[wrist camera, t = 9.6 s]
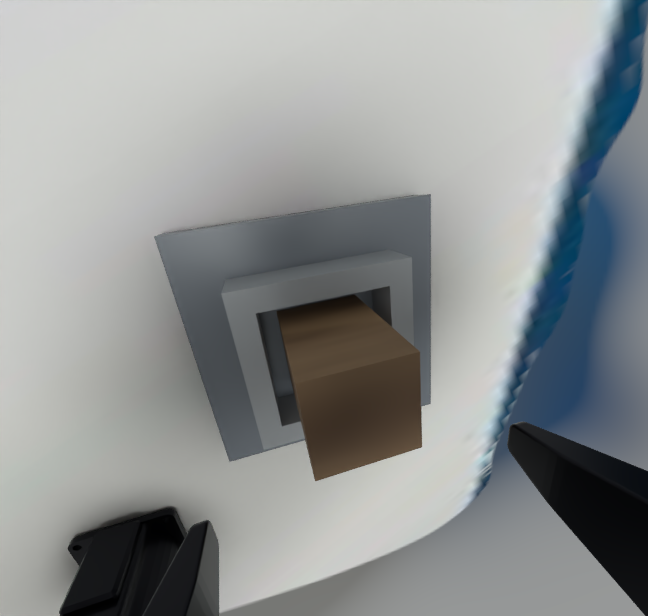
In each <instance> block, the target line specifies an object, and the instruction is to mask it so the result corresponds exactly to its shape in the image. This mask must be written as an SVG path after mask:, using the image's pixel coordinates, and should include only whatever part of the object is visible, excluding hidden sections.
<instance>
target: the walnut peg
mask: <svg viewBox="0 0 648 616" xmlns="http://www.w3.org/2000/svg"><path fill="white" fill-rule="evenodd" d="M276 312H277V317H278V321H279V326H280V331H281V335H282V340H283V345H284V350H285V354H286V359H287V364H288V369H289V373H290V378H291V383H292V387H293V391H294V395H295V399H296V403H297V408H298V412H299V416H300V420H301V424H302V428H303V432H304V437H305V441H306V445H307V449H308V453H309V457H310V462H311V466H312V470H313V474H314V478H315V481H318V480H321V479H324V478H327V477H330V476H333V475H336V474H340V473H343V472H346V471H349V470H352V469H355V468H358V467H361V466H365V465H368V464H371V463H374V462H377V461H380V460H383V459H387V458H390V457H393V456H396V455H399V454H402V453H405V452H408V451H412V450H415V449H418V448H421V447H422V427H421V376H420V351H419V350H418V349H416V348H415V347H414V346H413V345H412V344H411V343H410V342H408V341H407V340H406V339H405V338H404V337H403V336H402V335H400V334H399V333H398V332H397V331H396V330H395V329H394V328H392V327H391V326H390V325H389V324H388V323H387V322H386V321H384V320H383V319H382V318H381V317H380V316H379V315H377V314H376V313H375V312H374V311H373V310H372V309H371V308H369V307H368V306H367V305H366V304H365V303H364V302H363V301H361V300H360V299H359V298H358V297H357V296H356V295H351V296H346V297H342V298H337V299H332V300H327V301H323V302H318V303H313V304H309V305H304V306H299V307H295V308H290V309H285V310H281V311H276Z"/></svg>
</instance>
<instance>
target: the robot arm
mask: <svg viewBox="0 0 648 616" xmlns="http://www.w3.org/2000/svg"><path fill="white" fill-rule="evenodd" d="M507 445H508V449H509V451H510V452H511V454H512V456H513V457H514V458H515V460H516V461H517V462H518V464H519V465H520V466H521V468H522V469H523V471H524V472H525V473H526V475H527V476H528V477H529V479H530V480H531V481H532V483H533V484H534V485H535V487H536V488H537V489H538V491H539V492H540V493H541V495H542V496H543V497H544V499H545V500H546V501H547V503H548V504H549V505H550V506H551V507H552V509H553V510H554V511H555V512H556V513H557V514H558V516H559V517H560V518H561V519H562V520H563V521H564V522H565V524H566V525H567V526H568V527H569V528H570V529H571V530H572V532H573V533H574V534H575V535H576V536H577V537H578V538H579V540H580V541H581V542H582V543H583V544H584V545H585V547H587V549H588V550H589V551H590V552H591V553H592V555H593V556H594V557H595V558H596V559H597V560H598V562H599V563H600V564H601V565H602V566H603V567H604V568H605V570H606V571H607V572H608V573H609V574H610V575H611V577H612V578H613V579H614V580H615V581H616V582H617V583H618V585H619V586H620V587H621V588H622V589H623V590H624V592H625V593H626V594H627V595H628V596H629V597H630V598H631V600H632V601H633V602H634V603H635V604H636V605H637V607H638V608H639V609H640V610H641V611H642V612H643V613H644V615H645V616H648V471H646V470H644V469H641V468H638V467H636V466H634V465H631V464H629V463H626V462H624V461H621V460H619V459H616V458H614V457H611V456H609V455H606V454H604V453H601V452H599V451H596V450H594V449H591V448H589V447H586V446H584V445H581V444H579V443H576V442H574V441H571V440H569V439H566V438H564V437H562V436H559V435H557V434H554V433H552V432H549V431H547V430H544V429H542V428H539V427H537V426H534V425H532V424H529V423H527V422H518V423H515V424H512V425H511V426H510V429H509V435H508V444H507ZM68 551H69V552H70V554H71V555H72V556H73V558H74V559H75V561H76V562H77V563H78V565H79V566H80V567H79V569H78V571H77V573H76V575H75V578H74V580H73V582H72V584H71V586H70V589H69V591H68V593H67V595H66V597H65V599H64V602H63V604H62V606H61V608H60V611H59V614H60V616H219V544H218V539H217V537H216V534H215V532H214V529H213V527H212V524H211V522H210V521H209V520H206V521H203V522H200V523H197V524H194V525H193V526H192V527H191V528H190V530H189V532H188V534H187V535H186V532H185V530H184V528H183V526H182V524H181V522H180V519H179V517H178V515H177V513H176V511H175V510H173V509H165V510H162V511H159V512H156V513H152V514H149V515H146V516H142V517H139V518H136V519H133V520H129V521H126V522H123V523H120V524H116V525H113V526H110V527H106V528H103V529H100V530H97V531H93V532H90V533H87V534H83V535H80V536H77V537H75V538H73V539H72V540H71V542H70V544H69V546H68Z"/></svg>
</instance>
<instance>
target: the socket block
mask: <svg viewBox="0 0 648 616" xmlns="http://www.w3.org/2000/svg"><path fill="white" fill-rule="evenodd" d="M155 240H156V243H157V246H158V249H159V252H160V255H161V258H162V261H163V264H164V267H165V270H166V273H167V276H168V279H169V282H170V285H171V288H172V291H173V294H174V297H175V300H176V303H177V306H178V309H179V312H180V315H181V318H182V321H183V324H184V327H185V330H186V333H187V336H188V339H189V342H190V345H191V348H192V351H193V354H194V357H195V360H196V363H197V366H198V369H199V372H200V375H201V378H202V381H203V384H204V387H205V390H206V392H207V395H208V398H209V401H210V404H211V407H212V410H213V413H214V416H215V419H216V422H217V425H218V428H219V431H220V434H221V437H222V440H223V443H224V446H225V449H226V452H227V455H228V458H229V461H234V460H237V459H241V458H244V457H248V456H251V455H255V454H258V453H262V452H265V451H268V450H272V449H275V448H279V447H282V446H286V445H289V444H293V443H296V442H300V441H303V440H305V437H304V432H303V428H302V424H301V420H300V416H299V412H298V408H297V403H296V399H295V395H294V391H293V387H292V383H291V378H290V373H289V369H288V364H287V359H286V354H285V350H284V345H283V340H282V335H281V331H280V326H279V321H278V317H277V312H276V311H281V310H285V309H290V308H295V307H299V306H304V305H309V304H313V303H318V302H323V301H327V300H332V299H337V298H342V297H346V296H351V295H356V296H357V297H358V298H359V299H360V300H361V301H363V302H364V303H365V304H366V305H367V306H368V307H369V308H371V309H372V310H373V311H374V312H375V313H376V314H377V315H379V316H380V317H381V318H382V319H383V320H384V321H386V322H387V323H388V324H389V325H390V326H391V327H392V328H394V329H395V330H396V331H397V332H398V333H399V334H400V335H402V336H403V337H404V338H405V339H406V340H407V341H408V342H410V343H411V344H412V345H413V346H414V347H415V348H416V349H418V350H419V351H420V376H421V406H424V405H428V404H431V194H427V195H412V196H406V197H399V198H393V199H386V200H380V201H373V202H366V203H360V204H353V205H347V206H340V207H334V208H327V209H320V210H314V211H307V212H301V213H294V214H288V215H281V216H275V217H268V218H261V219H255V220H248V221H242V222H235V223H229V224H222V225H215V226H209V227H202V228H196V229H189V230H183V231H176V232H169V233H163V234H160V235H158V236H155Z"/></svg>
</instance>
